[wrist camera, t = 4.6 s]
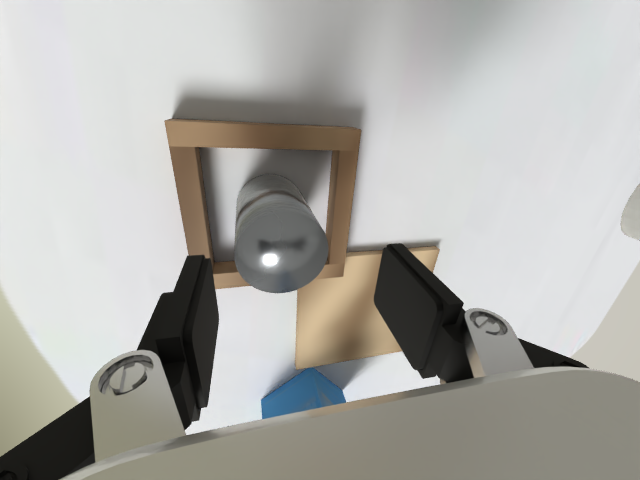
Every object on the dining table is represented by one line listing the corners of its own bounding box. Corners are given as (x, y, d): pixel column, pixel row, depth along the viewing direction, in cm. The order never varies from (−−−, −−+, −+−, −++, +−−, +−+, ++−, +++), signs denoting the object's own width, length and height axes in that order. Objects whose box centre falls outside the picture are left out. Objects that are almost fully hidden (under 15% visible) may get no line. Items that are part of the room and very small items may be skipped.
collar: (352, 127, 17) (361, 129, 16) (337, 266, 22) (343, 276, 21) (171, 118, 15) (164, 120, 13) (198, 278, 19) (195, 291, 18)
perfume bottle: (261, 399, 27) (272, 583, 17) (310, 365, 27) (353, 533, 17) (297, 420, 30) (325, 586, 20) (342, 390, 30) (394, 544, 20)
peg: (303, 174, 18) (332, 209, 12) (301, 234, 20) (325, 288, 14) (233, 174, 17) (230, 213, 11) (239, 237, 19) (238, 297, 13)
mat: (435, 246, 24) (439, 249, 23) (406, 345, 29) (409, 349, 28) (298, 256, 21) (300, 260, 20) (295, 364, 26) (296, 369, 26)
